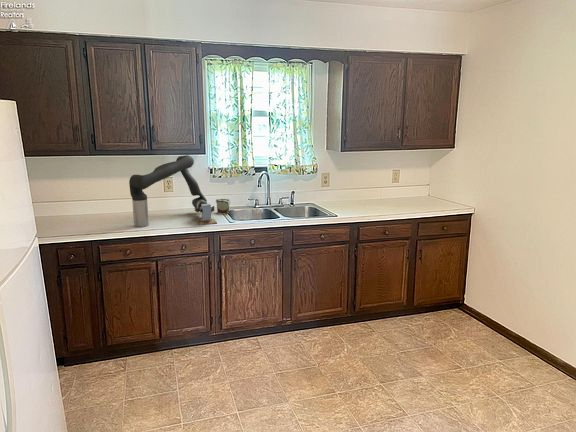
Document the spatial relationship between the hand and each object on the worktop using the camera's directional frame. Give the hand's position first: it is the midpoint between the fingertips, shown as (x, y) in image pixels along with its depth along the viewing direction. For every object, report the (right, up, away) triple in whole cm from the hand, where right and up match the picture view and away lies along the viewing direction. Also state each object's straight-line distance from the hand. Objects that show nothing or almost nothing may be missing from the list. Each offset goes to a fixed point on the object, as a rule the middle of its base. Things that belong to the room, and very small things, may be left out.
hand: (206, 211), depth 292 cm
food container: (+7, -1, +34) cm, 35 cm away
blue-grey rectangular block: (-1, -5, +4) cm, 7 cm away
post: (-1, -7, +4) cm, 9 cm away
